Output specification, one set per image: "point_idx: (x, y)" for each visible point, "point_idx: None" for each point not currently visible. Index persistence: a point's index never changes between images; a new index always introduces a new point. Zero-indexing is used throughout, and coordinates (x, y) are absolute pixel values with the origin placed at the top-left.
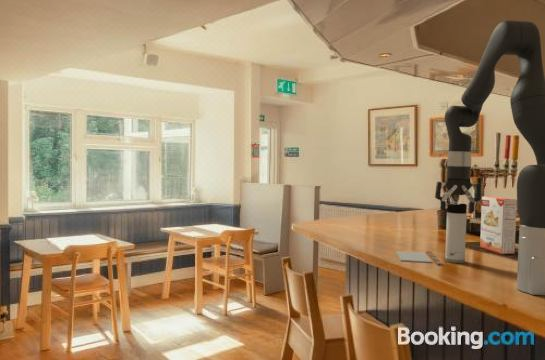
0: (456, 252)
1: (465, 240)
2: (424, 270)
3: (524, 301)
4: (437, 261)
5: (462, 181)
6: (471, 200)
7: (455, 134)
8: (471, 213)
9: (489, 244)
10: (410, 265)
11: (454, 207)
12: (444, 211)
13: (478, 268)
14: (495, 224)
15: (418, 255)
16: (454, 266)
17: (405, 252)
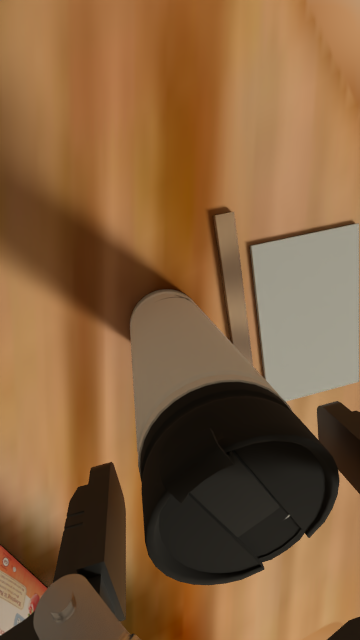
0: (167, 298)
1: (132, 351)
2: (284, 72)
3: None
4: (232, 249)
5: None
6: (86, 600)
7: None
8: (95, 467)
9: None
10: (328, 155)
11: (273, 415)
12: (329, 404)
13: (76, 224)
14: None
15: (291, 343)
16: (168, 219)
17: (330, 374)
